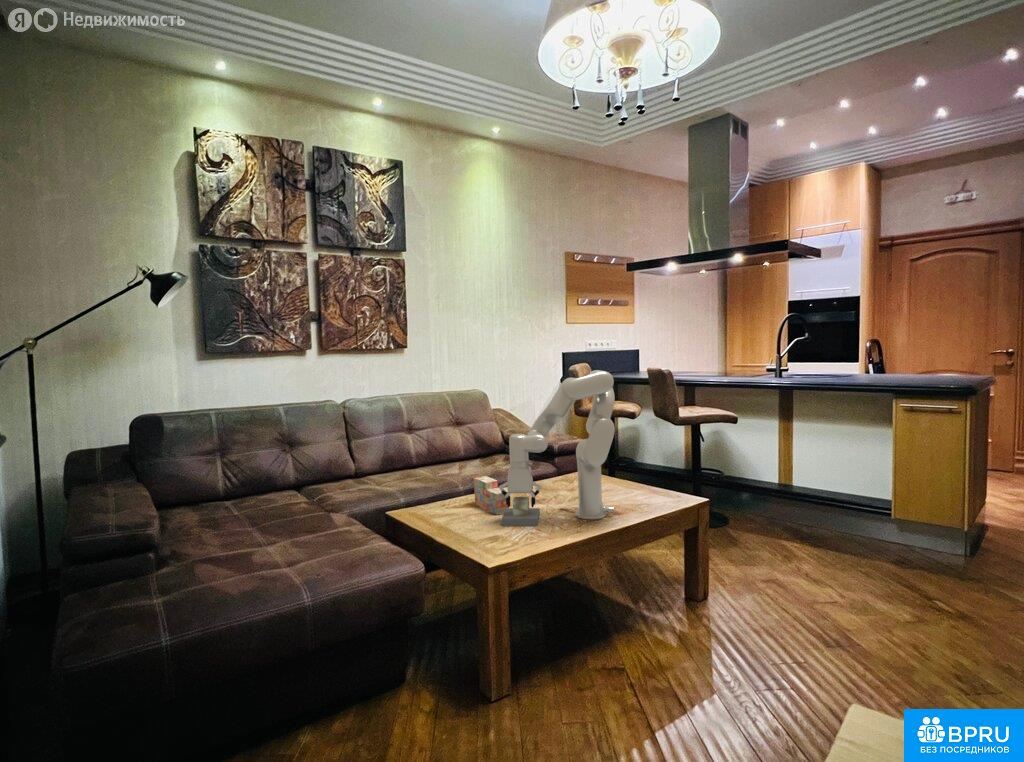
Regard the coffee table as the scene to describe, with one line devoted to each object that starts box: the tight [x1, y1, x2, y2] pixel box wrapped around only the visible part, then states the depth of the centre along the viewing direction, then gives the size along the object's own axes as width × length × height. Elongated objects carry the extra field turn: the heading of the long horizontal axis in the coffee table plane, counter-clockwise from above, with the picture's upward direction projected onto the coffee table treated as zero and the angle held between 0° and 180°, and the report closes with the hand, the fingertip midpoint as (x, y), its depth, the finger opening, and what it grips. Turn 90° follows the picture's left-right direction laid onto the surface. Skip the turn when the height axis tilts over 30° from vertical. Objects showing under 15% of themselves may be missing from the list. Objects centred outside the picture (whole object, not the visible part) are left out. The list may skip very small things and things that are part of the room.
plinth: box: [501, 507, 541, 527], centre depth 222 cm, size 14×14×3 cm
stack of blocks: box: [473, 475, 510, 516], centre depth 241 cm, size 21×6×12 cm, turn 30°
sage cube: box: [512, 496, 530, 515], centre depth 222 cm, size 6×6×6 cm
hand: (520, 506), depth 222 cm, fingers open, 9 cm apart
